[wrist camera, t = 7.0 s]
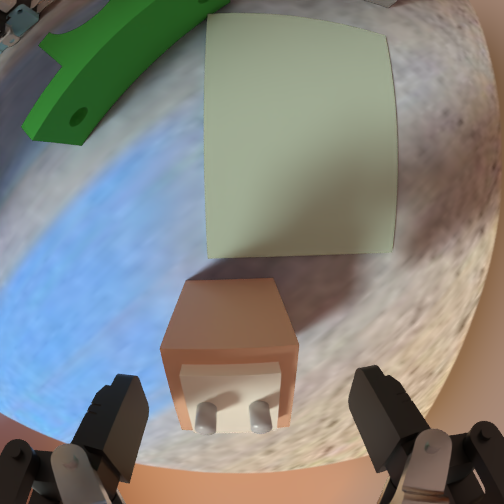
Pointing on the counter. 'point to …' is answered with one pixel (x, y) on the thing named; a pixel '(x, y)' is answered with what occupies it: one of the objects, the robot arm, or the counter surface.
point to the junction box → (383, 2)
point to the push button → (17, 19)
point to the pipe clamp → (106, 62)
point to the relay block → (231, 357)
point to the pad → (297, 138)
